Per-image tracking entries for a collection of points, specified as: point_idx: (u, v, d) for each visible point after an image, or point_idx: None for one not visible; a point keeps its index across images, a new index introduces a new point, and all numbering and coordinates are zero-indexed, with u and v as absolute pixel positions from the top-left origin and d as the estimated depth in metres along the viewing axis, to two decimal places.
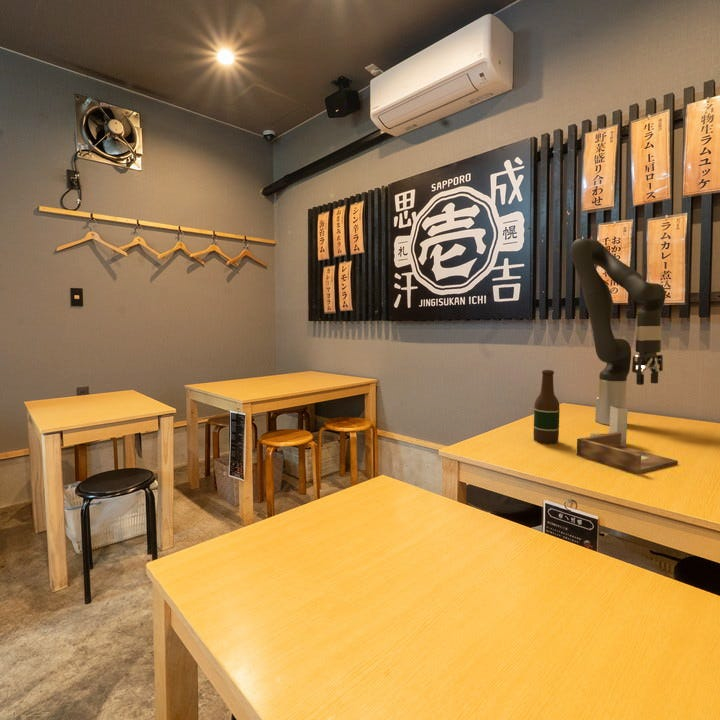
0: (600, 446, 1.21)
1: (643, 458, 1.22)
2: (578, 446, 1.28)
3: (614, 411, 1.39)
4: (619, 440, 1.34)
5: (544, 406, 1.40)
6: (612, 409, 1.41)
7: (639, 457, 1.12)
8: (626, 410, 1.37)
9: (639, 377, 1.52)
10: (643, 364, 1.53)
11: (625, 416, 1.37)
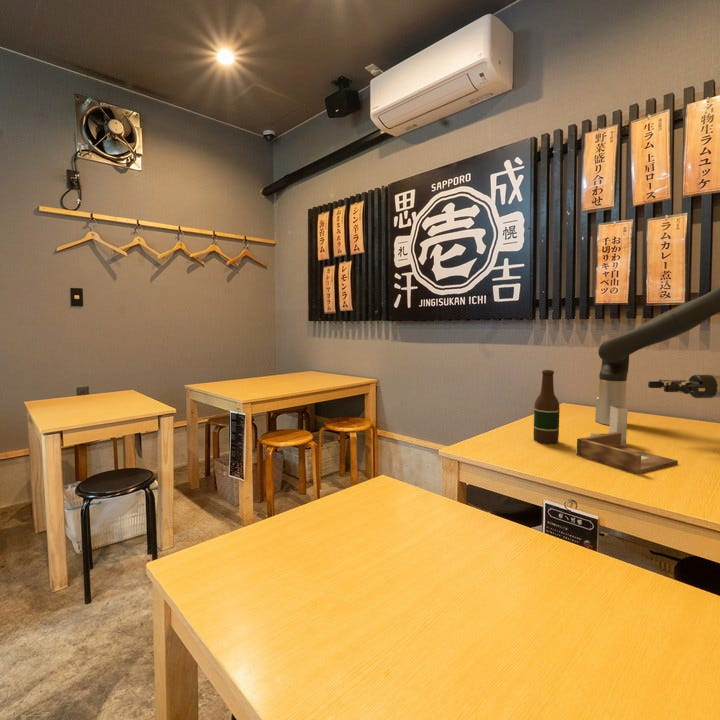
0: (600, 446, 1.21)
1: (643, 458, 1.22)
2: (578, 446, 1.28)
3: (614, 411, 1.39)
4: (619, 440, 1.34)
5: (544, 406, 1.40)
6: (612, 409, 1.41)
7: (639, 457, 1.12)
8: (626, 410, 1.37)
9: (675, 389, 1.33)
10: None
11: (625, 416, 1.37)
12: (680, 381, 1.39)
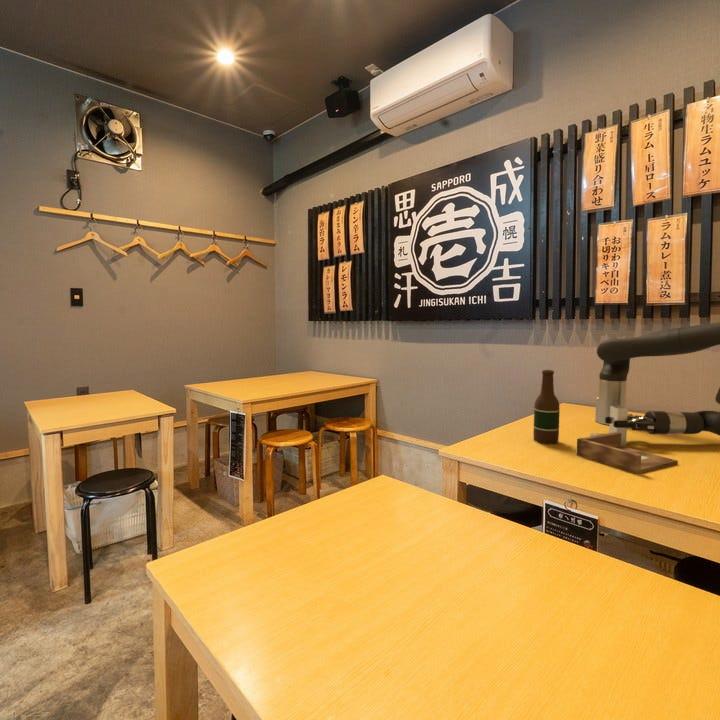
0: (600, 446, 1.21)
1: (643, 458, 1.22)
2: (578, 446, 1.28)
3: (614, 411, 1.39)
4: (619, 440, 1.34)
5: (544, 406, 1.40)
6: (612, 409, 1.41)
7: (639, 457, 1.12)
8: (626, 410, 1.37)
9: (624, 425, 1.37)
10: (637, 424, 1.38)
11: (625, 416, 1.37)
12: (636, 417, 1.41)
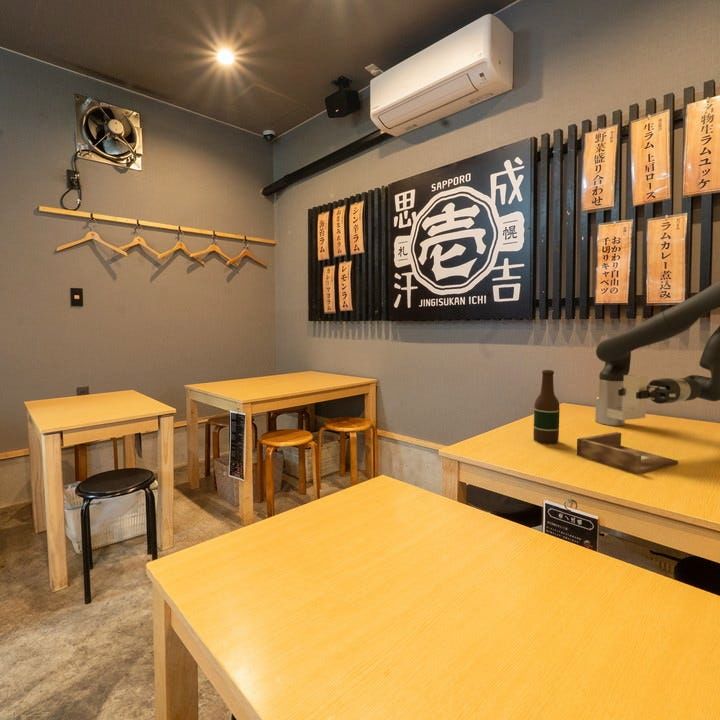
0: (600, 446, 1.21)
1: (643, 458, 1.22)
2: (578, 446, 1.28)
3: (633, 381, 1.24)
4: (619, 440, 1.34)
5: (544, 406, 1.40)
6: (628, 379, 1.25)
7: (639, 457, 1.12)
8: (646, 378, 1.23)
9: (647, 396, 1.22)
10: None
11: (645, 385, 1.23)
12: None
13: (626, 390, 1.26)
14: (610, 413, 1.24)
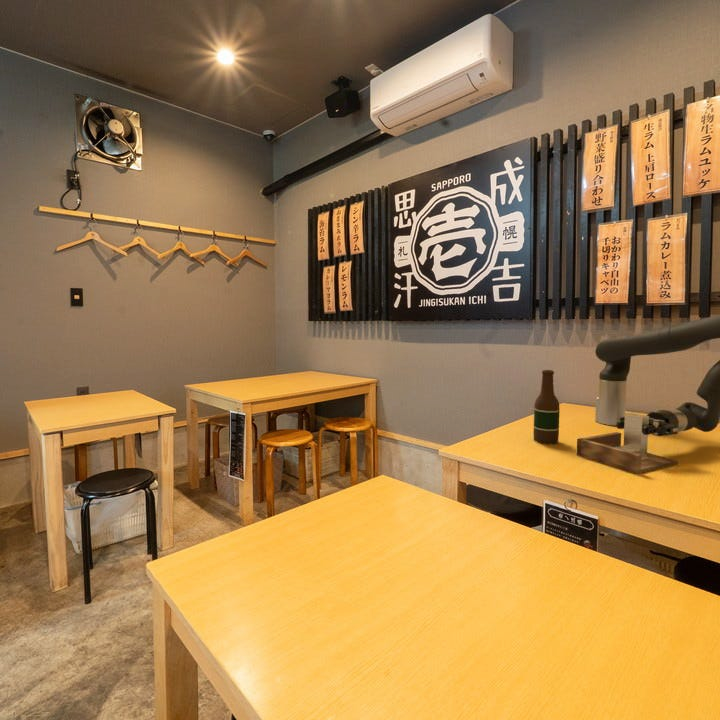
0: (600, 446, 1.21)
1: (643, 458, 1.22)
2: (578, 446, 1.28)
3: (635, 420, 1.22)
4: (619, 440, 1.34)
5: (544, 406, 1.40)
6: (629, 418, 1.24)
7: (639, 457, 1.12)
8: (648, 418, 1.22)
9: (653, 431, 1.19)
10: None
11: (647, 424, 1.22)
12: None
13: (627, 429, 1.24)
14: None
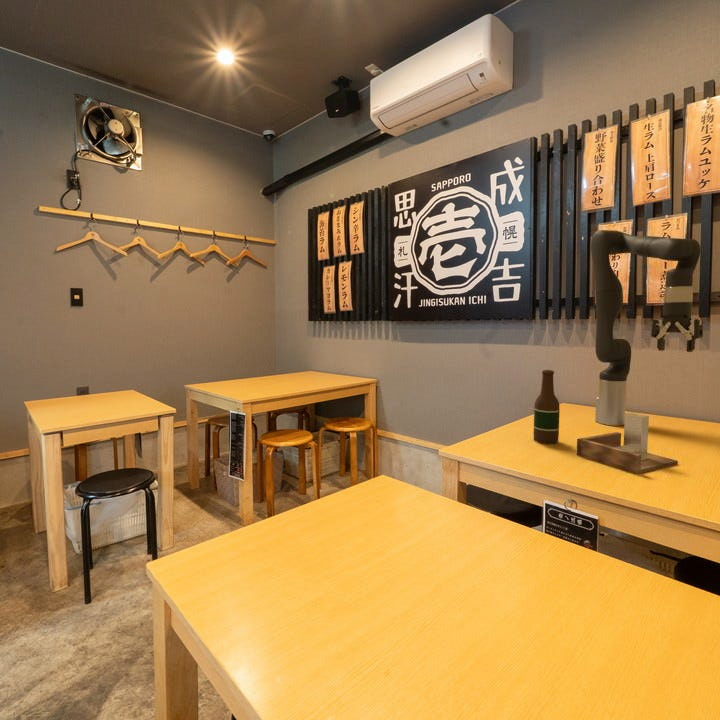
0: (600, 446, 1.21)
1: (643, 458, 1.22)
2: (578, 446, 1.28)
3: (635, 420, 1.22)
4: (619, 440, 1.34)
5: (544, 406, 1.40)
6: (629, 418, 1.24)
7: (639, 457, 1.12)
8: (648, 418, 1.22)
9: None
10: None
11: (647, 424, 1.22)
12: None
13: (627, 429, 1.24)
14: None
